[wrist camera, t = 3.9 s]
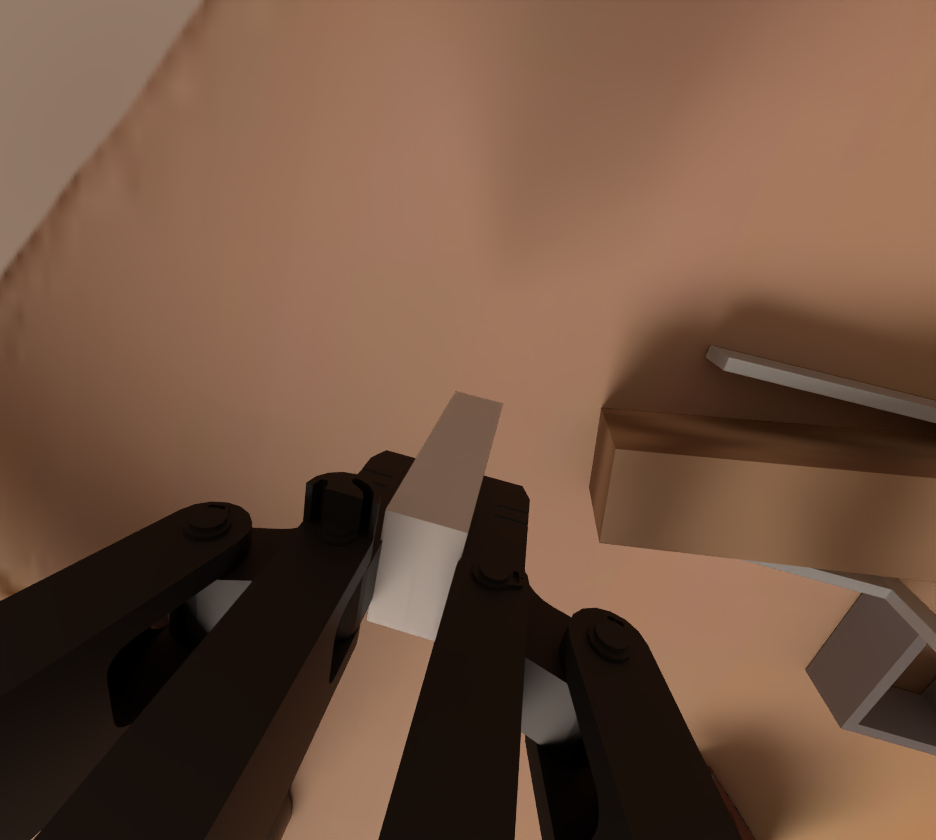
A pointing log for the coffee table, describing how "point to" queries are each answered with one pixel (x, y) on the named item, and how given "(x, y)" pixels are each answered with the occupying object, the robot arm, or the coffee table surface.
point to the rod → (767, 492)
